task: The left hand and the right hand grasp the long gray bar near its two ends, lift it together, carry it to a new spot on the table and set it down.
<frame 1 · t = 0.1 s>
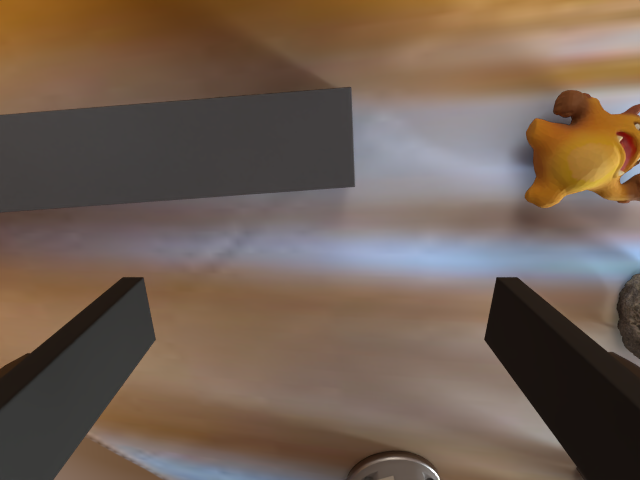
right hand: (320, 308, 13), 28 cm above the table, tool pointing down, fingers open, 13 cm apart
long gray bar: (113, 152, 38), on the table
toy: (574, 155, 38), on the table
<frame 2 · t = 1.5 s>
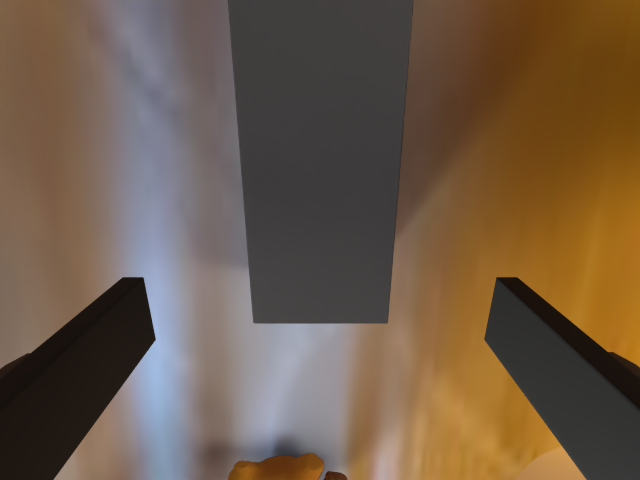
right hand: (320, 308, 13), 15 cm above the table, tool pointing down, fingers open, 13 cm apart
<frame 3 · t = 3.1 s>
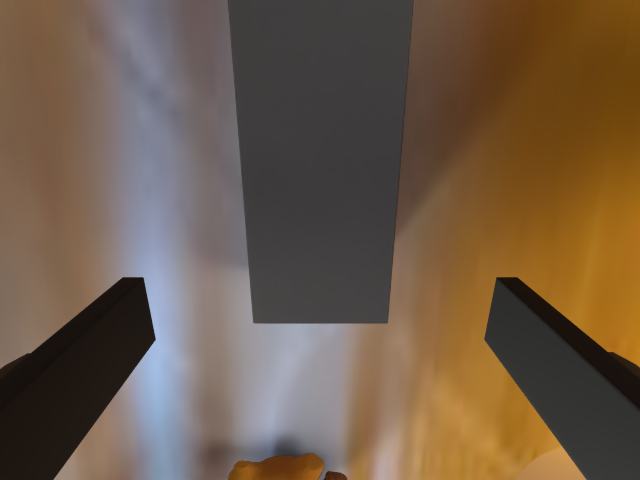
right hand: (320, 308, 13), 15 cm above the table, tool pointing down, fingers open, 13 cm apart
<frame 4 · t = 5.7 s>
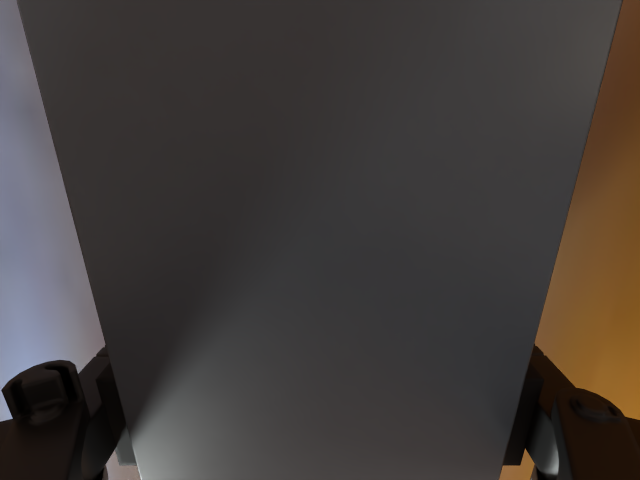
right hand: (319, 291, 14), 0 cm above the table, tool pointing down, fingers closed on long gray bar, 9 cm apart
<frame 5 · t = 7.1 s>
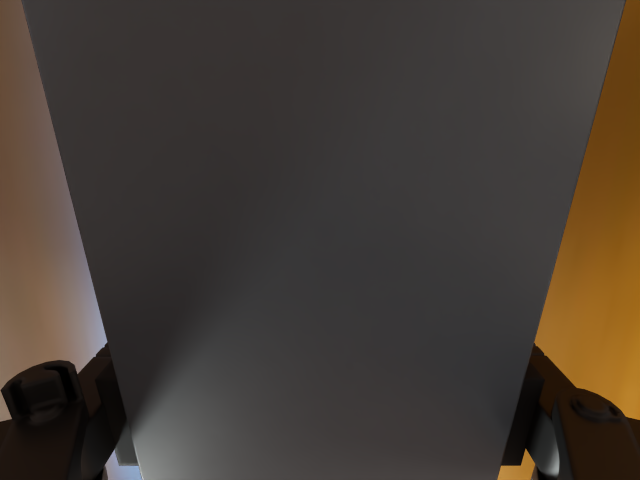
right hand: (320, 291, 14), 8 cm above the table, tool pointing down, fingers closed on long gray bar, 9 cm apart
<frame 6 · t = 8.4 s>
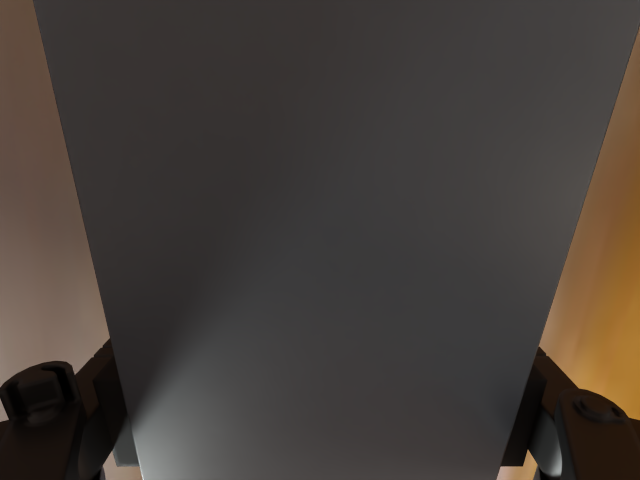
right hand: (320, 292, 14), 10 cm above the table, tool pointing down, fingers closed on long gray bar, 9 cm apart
when the left hand's fingers open (1 cm above the table, at t = 11.1 s): long gray bar stays where it is, on the table.
when the right hand's fingers open (2 cm above the table, at t = 11.1 s): long gray bar stays where it is, on the table.
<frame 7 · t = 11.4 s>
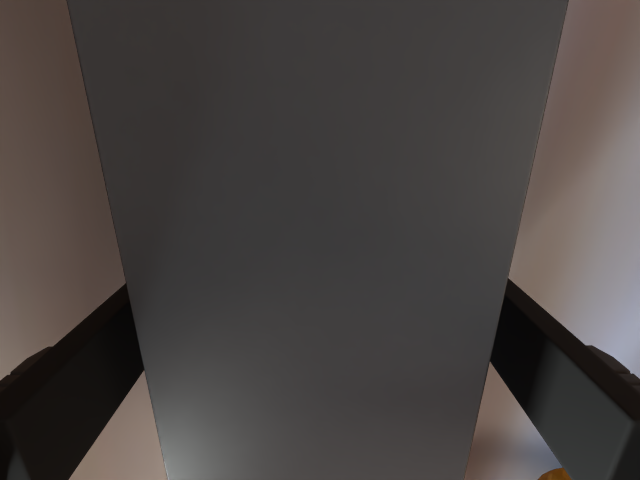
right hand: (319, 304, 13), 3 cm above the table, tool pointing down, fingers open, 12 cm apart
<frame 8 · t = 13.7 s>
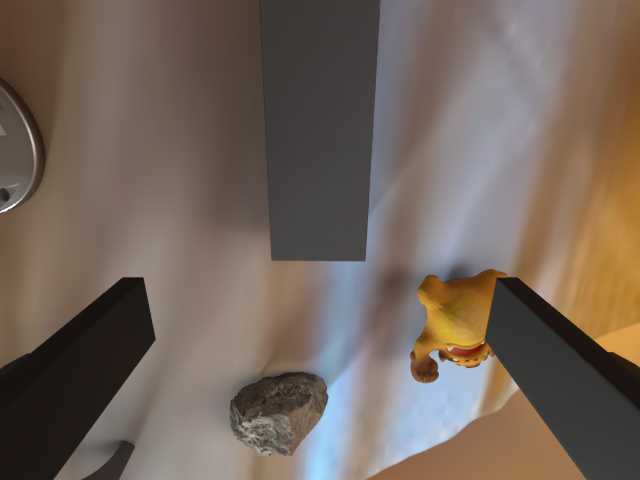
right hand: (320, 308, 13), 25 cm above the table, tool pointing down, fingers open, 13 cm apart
planter: (76, 422, 48), on the table
rock: (276, 395, 46), on the table
toy: (448, 313, 42), on the table
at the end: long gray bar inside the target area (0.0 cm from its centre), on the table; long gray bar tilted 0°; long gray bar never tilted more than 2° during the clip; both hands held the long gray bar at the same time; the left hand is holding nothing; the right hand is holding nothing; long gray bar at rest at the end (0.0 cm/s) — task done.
